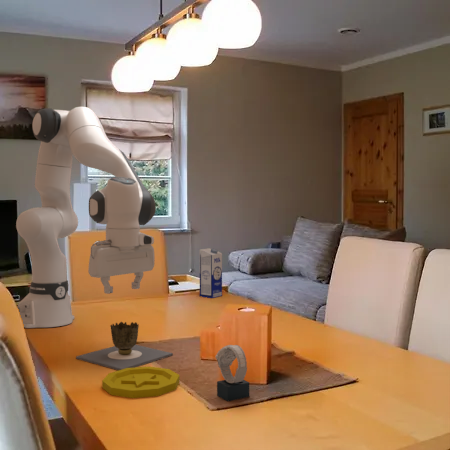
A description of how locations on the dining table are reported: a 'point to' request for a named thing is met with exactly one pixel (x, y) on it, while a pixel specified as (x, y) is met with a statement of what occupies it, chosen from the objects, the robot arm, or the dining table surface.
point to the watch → (231, 385)
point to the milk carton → (210, 273)
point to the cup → (124, 336)
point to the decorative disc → (140, 382)
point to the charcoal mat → (124, 357)
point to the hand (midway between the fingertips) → (122, 290)
